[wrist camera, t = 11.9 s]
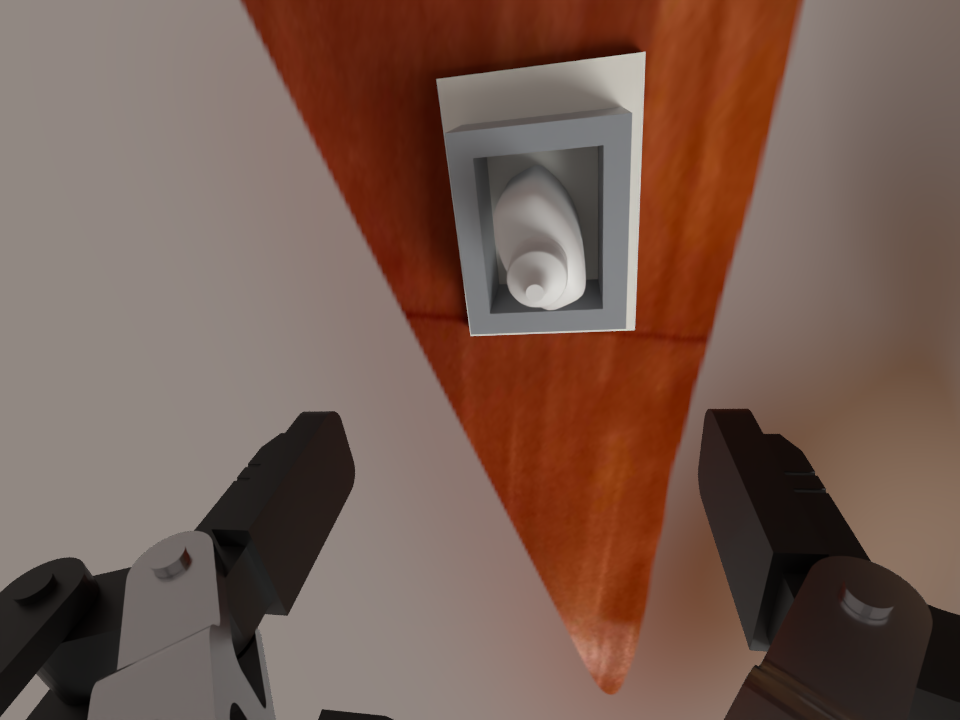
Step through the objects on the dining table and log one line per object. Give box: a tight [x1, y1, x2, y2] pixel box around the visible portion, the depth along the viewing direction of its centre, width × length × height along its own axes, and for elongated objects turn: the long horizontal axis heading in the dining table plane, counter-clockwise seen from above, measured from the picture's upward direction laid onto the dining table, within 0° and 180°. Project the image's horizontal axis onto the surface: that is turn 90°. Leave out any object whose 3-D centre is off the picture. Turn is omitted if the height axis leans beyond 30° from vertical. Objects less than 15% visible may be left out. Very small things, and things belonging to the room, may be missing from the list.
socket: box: [436, 52, 646, 336], centre depth 28 cm, size 15×10×6 cm
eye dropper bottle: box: [494, 165, 586, 310], centre depth 24 cm, size 4×6×12 cm
